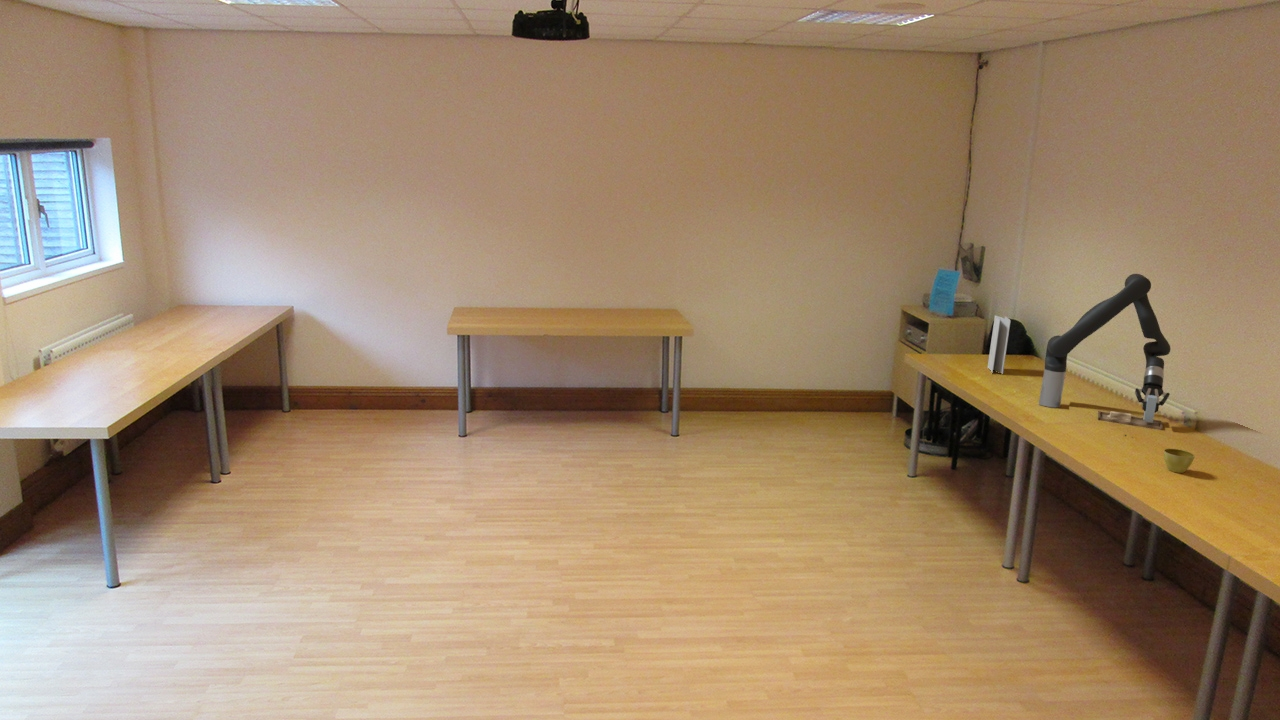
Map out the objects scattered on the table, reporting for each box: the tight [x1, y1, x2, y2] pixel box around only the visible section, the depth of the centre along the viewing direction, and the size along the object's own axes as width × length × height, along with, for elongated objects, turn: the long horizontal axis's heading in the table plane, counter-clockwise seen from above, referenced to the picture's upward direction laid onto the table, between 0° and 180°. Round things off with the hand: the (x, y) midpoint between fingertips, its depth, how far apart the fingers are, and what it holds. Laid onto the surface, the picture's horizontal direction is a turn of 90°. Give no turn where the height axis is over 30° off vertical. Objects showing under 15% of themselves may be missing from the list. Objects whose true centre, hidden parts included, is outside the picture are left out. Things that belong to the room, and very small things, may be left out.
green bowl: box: [1163, 448, 1196, 474], centre depth 331 cm, size 10×10×7 cm
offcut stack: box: [1107, 410, 1132, 422], centre depth 389 cm, size 9×4×4 cm, turn 63°
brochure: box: [987, 314, 1011, 375], centre depth 480 cm, size 14×6×30 cm, turn 168°
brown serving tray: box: [1097, 410, 1164, 431], centre depth 391 cm, size 25×13×2 cm, turn 63°
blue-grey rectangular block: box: [1142, 395, 1157, 423], centre depth 387 cm, size 3×5×11 cm, turn 153°
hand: (1150, 410), depth 386 cm, fingers closed on blue-grey rectangular block, 3 cm apart
